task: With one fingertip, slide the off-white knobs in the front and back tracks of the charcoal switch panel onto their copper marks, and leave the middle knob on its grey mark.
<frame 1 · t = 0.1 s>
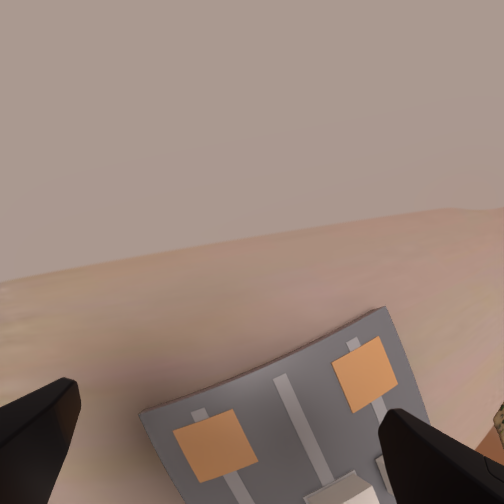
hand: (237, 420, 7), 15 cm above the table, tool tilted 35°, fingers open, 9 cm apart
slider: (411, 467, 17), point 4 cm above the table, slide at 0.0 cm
switch panel: (316, 468, 20), on the table
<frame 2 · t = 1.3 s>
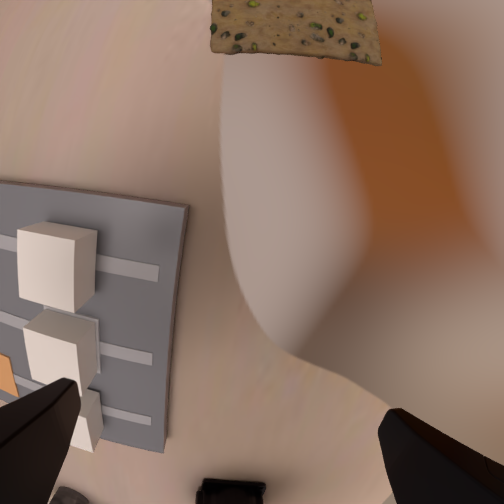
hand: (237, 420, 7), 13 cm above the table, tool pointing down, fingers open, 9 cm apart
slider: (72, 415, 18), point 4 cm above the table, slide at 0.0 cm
slider middle: (61, 351, 17), point 4 cm above the table, slide at 0.0 cm
beverage cup: (73, 495, 26), on the table
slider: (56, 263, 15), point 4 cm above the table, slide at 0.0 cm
switch panel: (50, 318, 20), on the table
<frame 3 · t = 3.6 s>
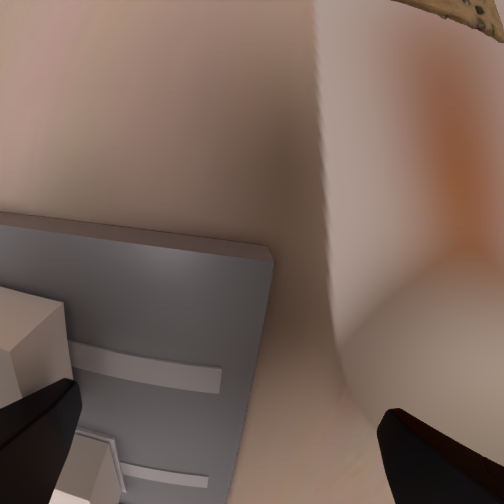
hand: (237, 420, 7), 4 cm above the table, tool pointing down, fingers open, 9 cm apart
slider middle: (64, 481, 8), point 4 cm above the table, slide at 0.0 cm
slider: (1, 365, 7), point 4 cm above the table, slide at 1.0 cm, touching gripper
switch panel: (39, 410, 12), on the table
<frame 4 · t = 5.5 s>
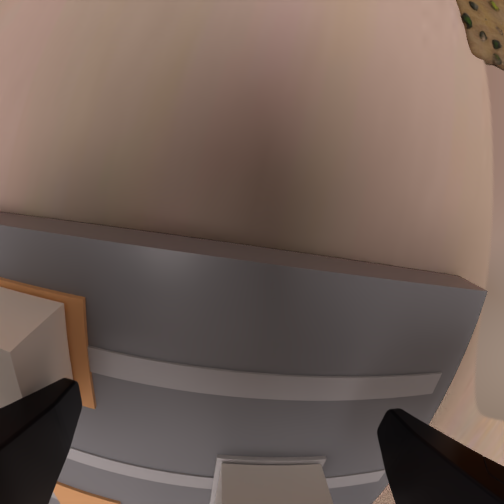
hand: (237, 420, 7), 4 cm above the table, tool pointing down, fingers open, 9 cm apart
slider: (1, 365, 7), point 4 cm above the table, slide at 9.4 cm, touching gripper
switch panel: (196, 448, 12), on the table
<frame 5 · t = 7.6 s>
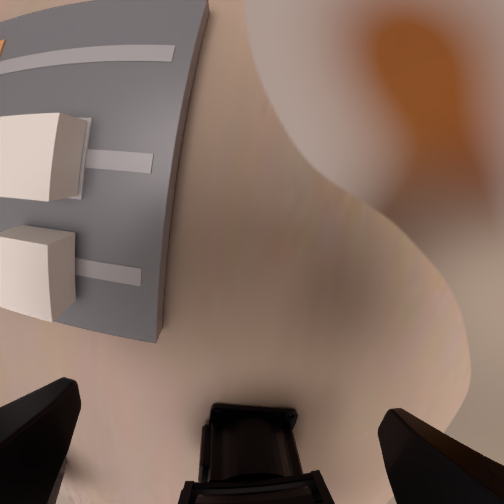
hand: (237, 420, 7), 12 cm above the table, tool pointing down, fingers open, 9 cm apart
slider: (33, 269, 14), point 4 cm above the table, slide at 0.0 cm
slider middle: (37, 156, 12), point 4 cm above the table, slide at 0.0 cm
beverage cup: (49, 451, 22), on the table
switch panel: (34, 156, 16), on the table
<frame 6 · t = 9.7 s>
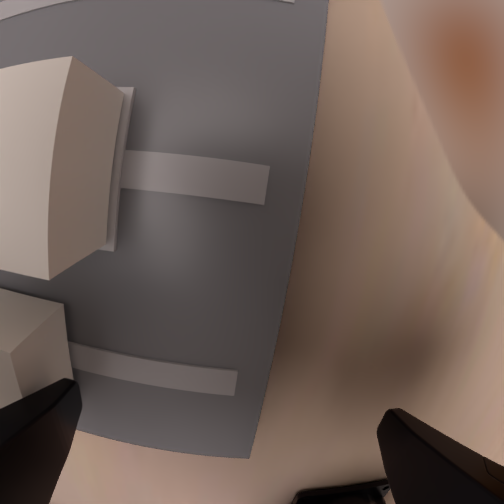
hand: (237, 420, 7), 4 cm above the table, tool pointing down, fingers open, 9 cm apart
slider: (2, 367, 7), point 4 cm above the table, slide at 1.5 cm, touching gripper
slider middle: (19, 165, 6), point 4 cm above the table, slide at 0.0 cm
switch panel: (21, 163, 9), on the table
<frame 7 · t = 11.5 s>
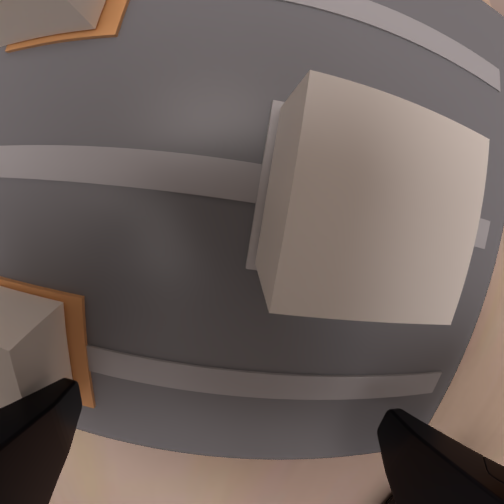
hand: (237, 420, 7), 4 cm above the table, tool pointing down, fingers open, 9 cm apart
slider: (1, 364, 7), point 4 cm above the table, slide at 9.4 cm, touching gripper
slider middle: (367, 204, 6), point 4 cm above the table, slide at 0.0 cm
switch panel: (228, 178, 10), on the table
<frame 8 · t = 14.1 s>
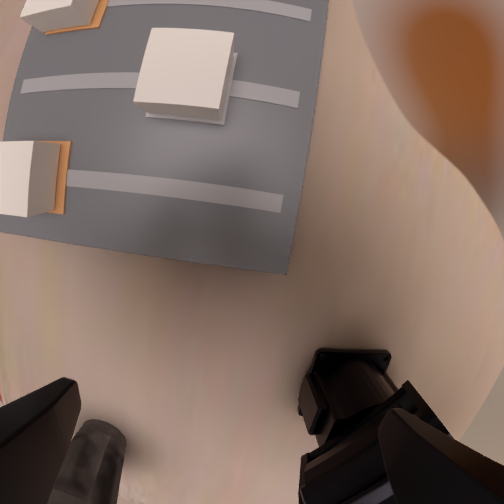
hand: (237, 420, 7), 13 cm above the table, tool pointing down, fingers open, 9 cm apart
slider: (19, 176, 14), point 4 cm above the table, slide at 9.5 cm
slider middle: (187, 74, 13), point 4 cm above the table, slide at 0.0 cm
beverage cup: (104, 434, 23), on the table
switch panel: (149, 89, 17), on the table
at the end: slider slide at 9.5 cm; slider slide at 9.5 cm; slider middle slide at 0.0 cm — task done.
